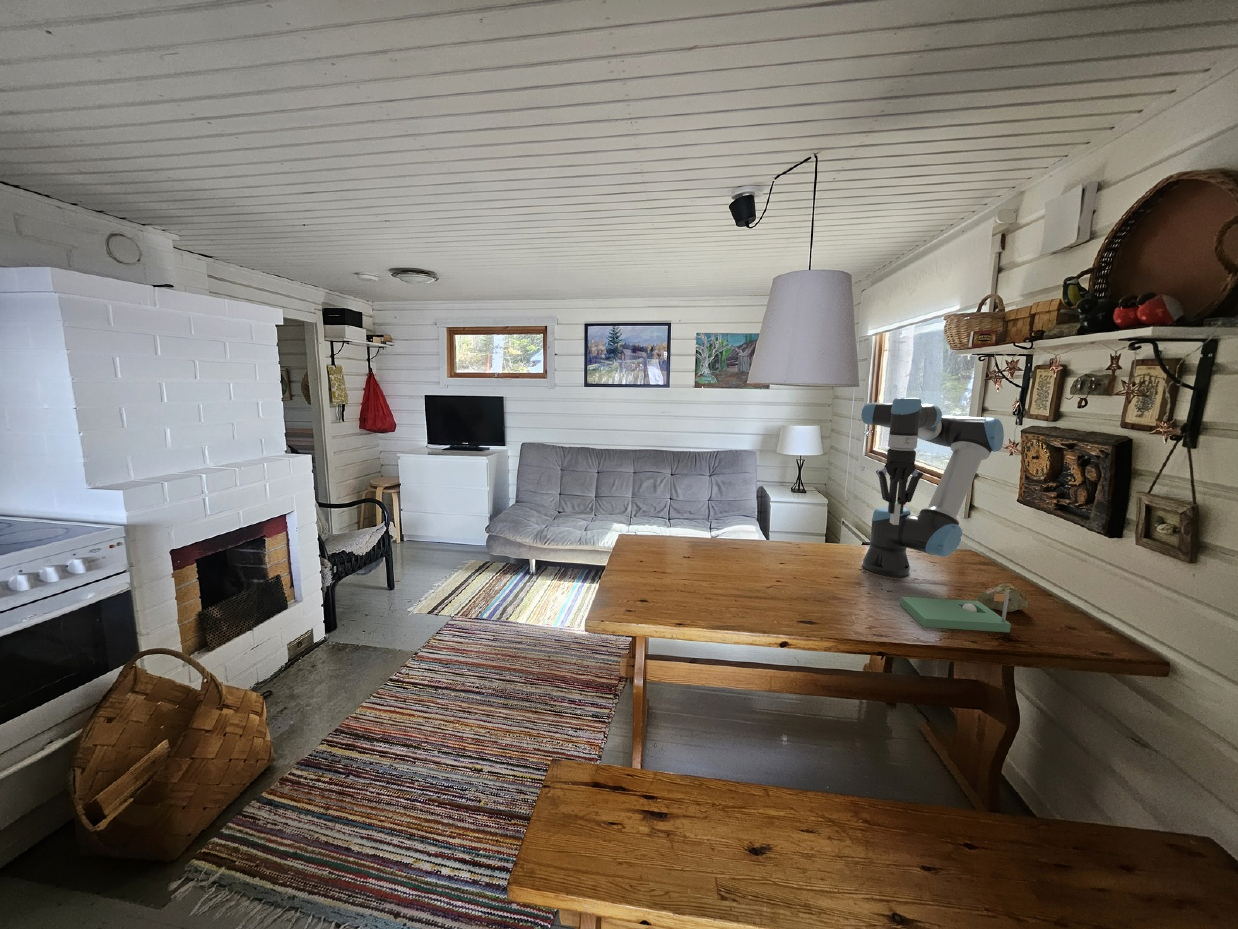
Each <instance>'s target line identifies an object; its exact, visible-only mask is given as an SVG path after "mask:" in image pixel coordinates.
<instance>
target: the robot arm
mask: <svg viewBox="0 0 1238 929" xmlns="http://www.w3.org/2000/svg"><path fill="white" fill-rule="evenodd" d="M860 416H861V417H860V418H861V421H862V422H863V423H864V424H865V425H870V426H880V427H882V428H883V427H884V428H889V431H888V432H889V433H888V441H887V447H888V449H887V453H886V463H885V464H884V466H883V468H881V469H876V471H875V474H876V475H877V477H878V480H879V486H880V491H881V499H882V500H883V501H885V502H887V503H888V506H887V507H878V508H876V509H874V510H873V514H872V518H871V527H870V528H871V529H870V530H871V531H870V540H869V547H868V549H867V551H866V553H865V555H864V556H863V560H862V566H863V568H864V569H866V570H867V571H868V572H871V573H874V574H877V575H881V576H886V577H899V578H901V577H906V576H908V575H909V574H910V571H911V566H910V563H909V559H908V554H907V549H911V550H914V551H917V552H922V553H925V554H927V555H930V556H935V557H936V556H937V557H941V558H942V557H943V558H945V557H948V556H951V555H952V554H953V553H954V552H956V550H957V549H958V547H959V546H960V543H961V540H962V536H963V529H962V528H961V526H960V522H959V520H958V518H957V516H958V514H959V512H960V511H961V510H960V509H961V508H962V505H963V503H964V501H965V499H966V496H967V494H968V492H969V490H970V487H971V485H972V483H973V481H974V478H975V476H976V474H977V471H978V469H979V467H980V464H981V462H982V461H983V460H987V459H988V458H989V457H990V455H991V453H992V452H993V453H996V452H1000V451H1001V449H1002V448H1003V445H1004V440H1005V439H1004V437H1005V432H1004V427H1003V426H1004V425H1003V423H1002V421H1001V420H1000V419H998V418H995V417H989V416H988V417H987V416H984V417H983V416H982V417H981V416H966V415H965V416H963V415H943V412H942V410H941V408H940V407H939V406H937V405H935V404H932V403H922V399H920V398H919V397H896V398H895V397H894V399H893V400H892V403H890V402H889V403H887V402H877V401H876V402H869V403H866V404H865V405H864V406H863V408H862V409H861V414H860ZM918 439H919V440H921V441H925V442H928V443H932V444H935V445H939V446H943V447H948V448H949V449H950V450H951V452H952V453H951V456H950V458H949V461H948V463H947V464H946V467H945V469H944V471H943V474H942V476H941V478H940V480H939V482H938V485H937V486H936V488H935V491H934V493H933V495H932V498H931V499H930V501H929V504H928V506H927V507H925V508H922V509H921V510H920V511H919V513H918V515H913V514H912V513H911V510H910V509H908V508H905V507H904V505H906V504H907V503H911V502H912V500H913V498H914V497H913V496H914V494H915V491H916V490H917V487H918V484H919V481H920V479H922V477H923V475H924V472H922V471H919V470H917V469H916V465H915V463H916V459H917V458H916V456H917V451H916V450H915V449H917V448H918ZM887 475H888V476H889V486H888V479H887ZM909 477H910V479H909Z"/></svg>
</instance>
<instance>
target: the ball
mask: <svg viewBox="0 0 1238 929" xmlns="http://www.w3.org/2000/svg"><path fill="white" fill-rule="evenodd" d="M962 608H963V609H965V610H966V611H967V612H977V609H976V607H975V606H974V605H972V604H964V605H963V606H962Z"/></svg>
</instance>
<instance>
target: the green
mask: <svg viewBox="0 0 1238 929" xmlns="http://www.w3.org/2000/svg"><path fill="white" fill-rule="evenodd" d="M1008 599H1009V594H1008V593H1005V594H995V596H994V601H1004V606H1003V611H1002V613H1001V614H1002V615H1001V616H1000V615H999V614H998V613H996V612H995V611H994V610H993V609H989V608H988V607H986V606H985V605H983V604H982V603H981V602H979V600H966V599H965V600H964V599H947V598H946V599H945V598H931V597H930V598H928V597H915V596H914V597H912V596H901V597H900V605H901V606H902V607H903V608H904V609H905V610H906V612H908V613H909V615H911V616H912V617H913V618H914V619H915V620H916V621H917V622H918V623H919V624H920V625H921V626H922V627H924V628H935V629H937V628H938V629H948V630H949V629H952V630H953V629H954V630H966V631H967V630H968V631H982V632H997V633H1000V632H1001V633H1010V632H1011V626H1012V623H1010V622H1009V621H1008V620H1006V618H1007V613H1008V612H1007V605H1008ZM964 604H972V605H974V606H975V607H976V609H977V612H967V611H966V610H965V609H963V608H962V606H963V605H964Z"/></svg>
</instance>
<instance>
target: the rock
mask: <svg viewBox="0 0 1238 929" xmlns="http://www.w3.org/2000/svg"><path fill="white" fill-rule="evenodd" d="M1005 593H1008V594H1009V599H1008V605H1007V612H1006V613H1013V612H1016V611H1018V610H1019V611H1022V609H1023V608H1026V609H1028V610H1029V609H1030V601H1029V600H1028V597H1027V596H1026V594H1025V592H1023V591H1022V590H1021V589H1020V588H1018V587H1017V586H1015V585H1013V584H1011V583H1009V582H1005V583H1001V584H999V585H997V586H992V587H989V588H987V589H986V590H985V591H984V592H980V593H978V594H977V601H979V602H981V603H982V604H983V605H985V606H986V607H988V608H989V609H990V610H998V611H1001V612H1003V606H1004V601H994V596H995V594H1005Z"/></svg>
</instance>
